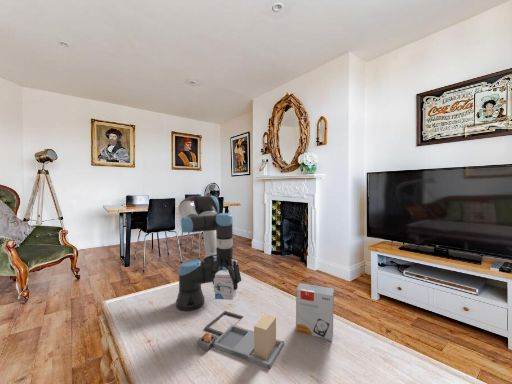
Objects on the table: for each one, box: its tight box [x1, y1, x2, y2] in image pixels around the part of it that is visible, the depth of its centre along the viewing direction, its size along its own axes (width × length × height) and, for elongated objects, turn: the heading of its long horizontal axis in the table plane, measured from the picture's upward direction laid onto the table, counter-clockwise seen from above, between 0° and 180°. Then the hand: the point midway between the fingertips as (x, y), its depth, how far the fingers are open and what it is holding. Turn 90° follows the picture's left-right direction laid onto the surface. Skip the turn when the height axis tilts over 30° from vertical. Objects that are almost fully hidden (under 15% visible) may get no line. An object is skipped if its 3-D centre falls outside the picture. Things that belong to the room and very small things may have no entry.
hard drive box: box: [295, 282, 335, 342], centre depth 105 cm, size 16×8×20 cm, turn 68°
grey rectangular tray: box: [212, 324, 285, 370], centre depth 96 cm, size 25×14×2 cm, turn 62°
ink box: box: [214, 271, 235, 301], centre depth 112 cm, size 9×5×12 cm, turn 84°
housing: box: [196, 332, 219, 352], centre depth 98 cm, size 6×6×2 cm
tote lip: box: [203, 310, 245, 336], centre depth 113 cm, size 12×16×1 cm
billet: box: [253, 313, 277, 361], centre depth 92 cm, size 5×9×12 cm, turn 152°
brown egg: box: [203, 333, 212, 343], centre depth 98 cm, size 3×3×4 cm
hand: (224, 293), depth 113 cm, fingers closed on ink box, 9 cm apart
